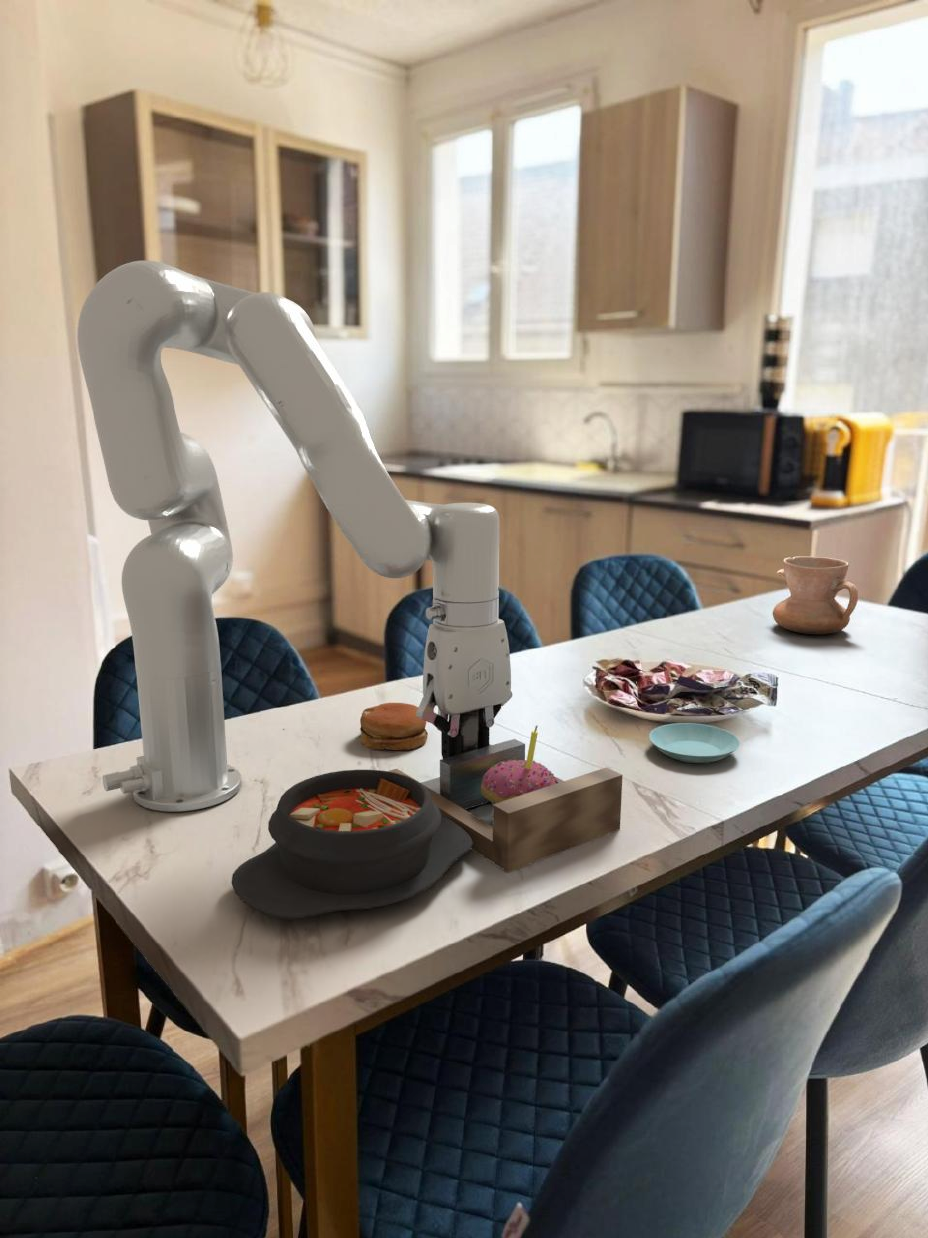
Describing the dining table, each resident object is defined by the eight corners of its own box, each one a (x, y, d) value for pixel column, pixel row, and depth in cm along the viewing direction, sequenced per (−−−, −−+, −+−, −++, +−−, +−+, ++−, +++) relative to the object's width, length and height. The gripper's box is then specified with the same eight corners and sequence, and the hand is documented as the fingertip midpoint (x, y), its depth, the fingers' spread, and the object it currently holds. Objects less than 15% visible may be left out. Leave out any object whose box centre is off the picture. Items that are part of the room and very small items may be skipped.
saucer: (692, 778, 116) (693, 762, 116) (629, 748, 126) (630, 732, 126) (757, 760, 122) (758, 743, 122) (693, 732, 132) (694, 717, 132)
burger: (436, 748, 126) (435, 716, 124) (369, 757, 123) (367, 724, 122) (416, 724, 135) (415, 694, 134) (353, 732, 132) (352, 701, 131)
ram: (450, 814, 105) (449, 730, 103) (416, 793, 111) (415, 712, 108) (524, 790, 112) (525, 710, 109) (488, 771, 117) (489, 694, 115)
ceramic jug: (751, 626, 189) (756, 557, 186) (797, 617, 197) (803, 551, 193) (827, 646, 175) (834, 572, 171) (873, 636, 182) (881, 565, 179)
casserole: (405, 808, 108) (404, 741, 106) (511, 872, 94) (513, 796, 92) (200, 878, 92) (195, 800, 90) (291, 967, 78) (287, 877, 76)
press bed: (507, 872, 93) (508, 813, 92) (383, 790, 112) (382, 740, 111) (619, 829, 103) (622, 774, 101) (487, 760, 121) (488, 713, 120)
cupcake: (568, 816, 106) (572, 717, 103) (535, 847, 99) (538, 741, 96) (502, 799, 110) (503, 704, 107) (466, 828, 103) (466, 726, 100)
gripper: (424, 629, 99) (426, 788, 103) (541, 607, 108) (538, 754, 113) (387, 615, 105) (390, 766, 109) (501, 596, 114) (499, 736, 119)
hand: (465, 758), depth 111 cm, fingers closed on ram, 3 cm apart
